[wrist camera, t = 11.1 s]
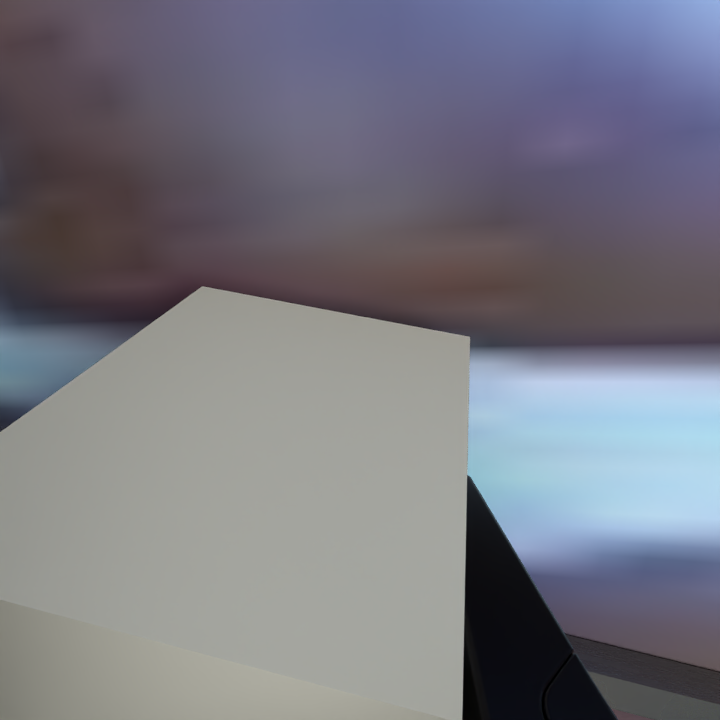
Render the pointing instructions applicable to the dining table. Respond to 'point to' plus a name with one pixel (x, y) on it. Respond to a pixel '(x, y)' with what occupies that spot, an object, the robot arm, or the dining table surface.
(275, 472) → the part block
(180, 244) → the dining table surface
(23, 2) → the dining table surface
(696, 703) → the cart rails
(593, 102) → the dining table surface
